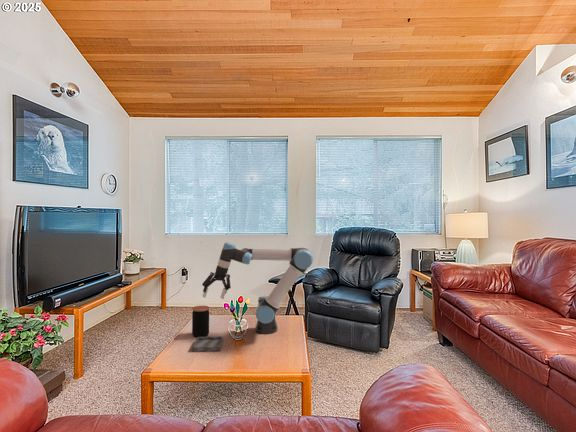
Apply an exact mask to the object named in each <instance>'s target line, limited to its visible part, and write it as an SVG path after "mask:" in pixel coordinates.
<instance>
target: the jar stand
mask: <svg viewBox="0 0 576 432" xmlns="http://www.w3.org/2000/svg"><path fill="white" fill-rule="evenodd" d="M195 339H196V340H195V341H194V344H193V345H192V347H191V348H192V352H194V353H195V352H199V353H202V352H221V349H222V345H223V342H224V336H206V337H198V338H195Z"/></svg>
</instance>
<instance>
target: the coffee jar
mask: <svg viewBox="0 0 576 432" xmlns="http://www.w3.org/2000/svg"><path fill="white" fill-rule="evenodd" d="M191 315H192V317H191V318H192V319H191V320H192V321H191V323H192V324H191V328H192V329H191V330H192V331H191V334H192V337H194V338H195V339H197V338H198V337H209V336H208V335H209V334H210V306H209V305H196V306H194V307H192V313H191Z"/></svg>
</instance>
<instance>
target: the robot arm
mask: <svg viewBox="0 0 576 432" xmlns="http://www.w3.org/2000/svg"><path fill="white" fill-rule="evenodd" d="M231 261H235V262H238V263H241V264H243V265H250V263H251V261H276V262H277V261H279V262H280V261H281V262H283V261H284V262H288V264H289V266H288V268H287V269H286V270H285V272H284V274H283V275H282V276H281V278H279V281H278V282H277V284H276V285H275V287H274V288H273V289H272V290H271V292H270V294H269V295H264V296H263V295H262V296H258V301H257V302H258V303H257V308H256V311H255V317H256V319H257V321H256V324H255V326H254V327H255V332H256V333H258V334H263V335H265V334H266V335H268V334H270V333H271V334H274V332H275V333H276V332H278V328H279V327H278V324H277V320H276V314H277V312H279V310H280V304H281V303H282V301H283V300H284V298H285V297H286V296H287V294H288V293H289V292H290V289H291V288H292V287H293V285H294V284H295V282H297V279H298V278H299V277H300V275H301V274H305V272H307V270H308V269H309V268H310V267H311V266H312V264H313V262H314V257H313V254H312V252H311V251H310V250H309V249H308V248H306V247H291V248H289V249H279V248H278V249H277V248H276V249H274V248H273V249H271V248H270V249H269V248H247V247H245V248H242V249H238V248H236V245H235V243H234V244H233V243H231V242H224V244H223V247H222V249H221V253H220V255H219V259H218V262H217V265H216V268H215V272H213V271H211V272H210V273H209V275H208V276H207V278H206V279H205V280H204V281H203V282H202V284H201V286H203V290H202V292H203V293H202V297H203V299H206V298H207V294H208V291H209V287H210V286H211V285H212V284H213V283H215V282H216V281H221V282H222V284H223V288H222V292H221V294H220V298H221V299H222V300H224V299H225V296H226V294H227V293H228V292H227V291H229V289H230V290H231V279H230V278H231V275H230V274H229V273H228V271H229V267H230V266H231ZM271 334H270V335H271Z"/></svg>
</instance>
